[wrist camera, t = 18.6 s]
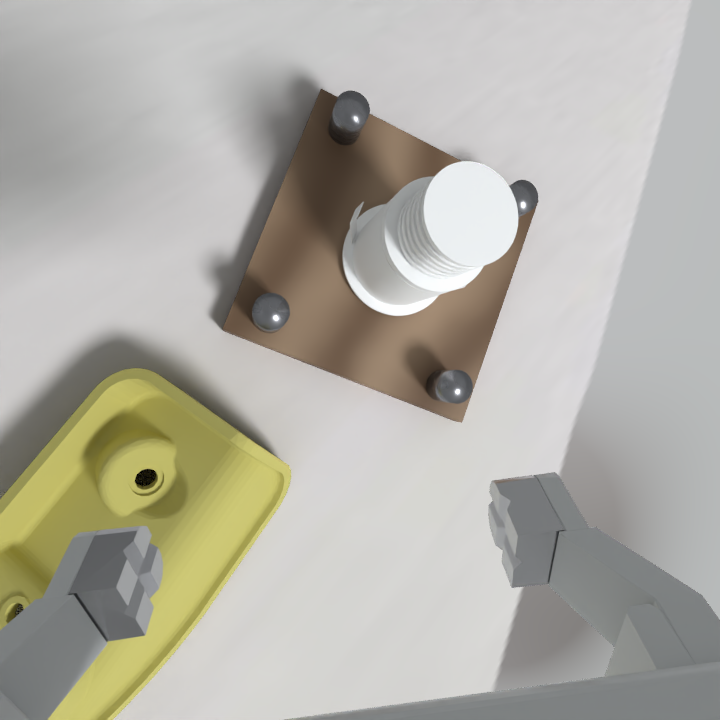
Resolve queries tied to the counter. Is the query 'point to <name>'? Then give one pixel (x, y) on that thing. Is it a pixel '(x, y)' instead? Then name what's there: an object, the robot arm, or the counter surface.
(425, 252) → the recessed downlight
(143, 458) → the plastic component
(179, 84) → the counter surface
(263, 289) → the pin board
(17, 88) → the counter surface
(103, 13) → the counter surface
